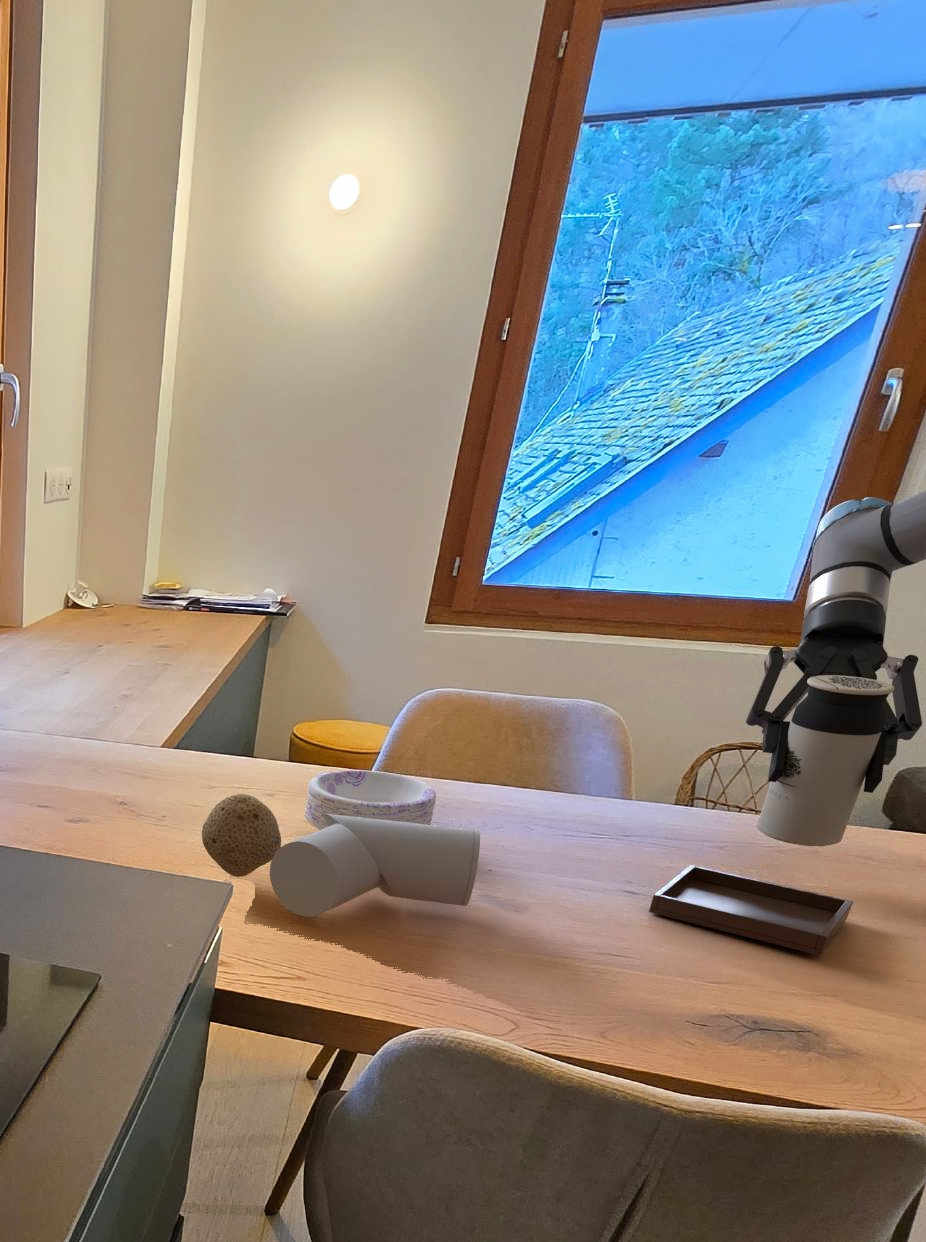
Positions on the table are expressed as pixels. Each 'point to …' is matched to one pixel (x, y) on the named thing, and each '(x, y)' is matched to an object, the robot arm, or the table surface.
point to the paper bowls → (369, 797)
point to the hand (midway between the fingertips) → (823, 780)
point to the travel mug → (825, 760)
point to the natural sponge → (241, 834)
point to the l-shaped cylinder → (375, 864)
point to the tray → (753, 908)
